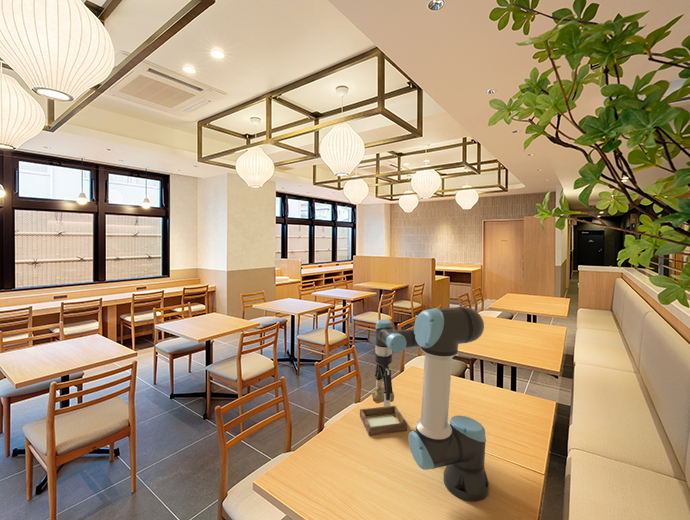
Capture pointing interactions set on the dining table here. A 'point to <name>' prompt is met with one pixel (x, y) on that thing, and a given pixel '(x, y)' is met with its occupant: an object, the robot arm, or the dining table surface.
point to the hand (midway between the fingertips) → (382, 399)
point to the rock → (381, 395)
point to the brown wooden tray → (383, 428)
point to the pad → (381, 420)
